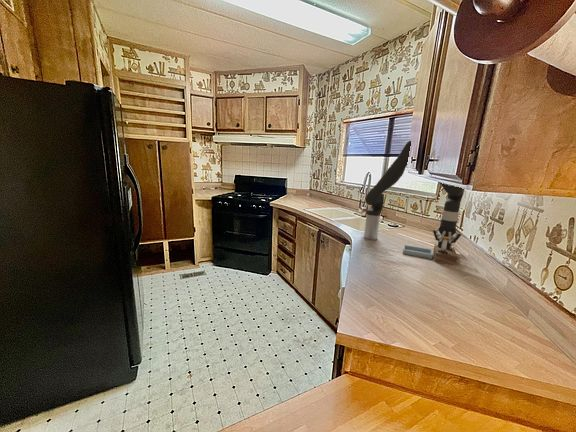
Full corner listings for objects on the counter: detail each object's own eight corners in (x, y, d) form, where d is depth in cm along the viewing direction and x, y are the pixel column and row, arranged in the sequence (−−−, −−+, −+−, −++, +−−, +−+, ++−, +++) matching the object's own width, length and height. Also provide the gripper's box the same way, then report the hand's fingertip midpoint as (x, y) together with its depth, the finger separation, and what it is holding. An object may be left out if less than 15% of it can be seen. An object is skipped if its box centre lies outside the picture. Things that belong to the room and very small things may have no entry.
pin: (441, 254, 148) (445, 234, 145) (449, 256, 147) (454, 235, 143) (442, 257, 145) (446, 236, 142) (450, 258, 143) (455, 237, 140)
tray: (403, 248, 157) (404, 244, 156) (431, 253, 150) (431, 249, 150) (402, 253, 148) (403, 249, 147) (431, 259, 141) (432, 255, 141)
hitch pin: (437, 255, 143) (441, 234, 140) (445, 257, 141) (449, 235, 138) (437, 258, 139) (441, 236, 136) (446, 259, 137) (450, 237, 134)
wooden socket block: (433, 252, 152) (434, 244, 151) (452, 255, 148) (453, 247, 146) (434, 261, 138) (436, 253, 137) (455, 265, 134) (457, 256, 133)
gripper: (463, 219, 135) (457, 248, 139) (434, 215, 141) (428, 244, 145) (466, 222, 128) (459, 253, 132) (435, 218, 134) (429, 247, 138)
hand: (443, 248), depth 139 cm, fingers closed on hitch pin, 3 cm apart
